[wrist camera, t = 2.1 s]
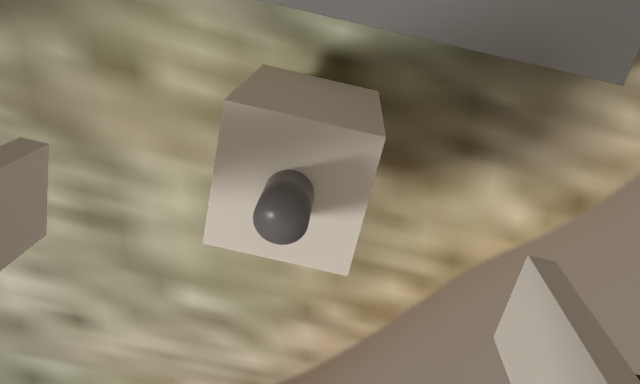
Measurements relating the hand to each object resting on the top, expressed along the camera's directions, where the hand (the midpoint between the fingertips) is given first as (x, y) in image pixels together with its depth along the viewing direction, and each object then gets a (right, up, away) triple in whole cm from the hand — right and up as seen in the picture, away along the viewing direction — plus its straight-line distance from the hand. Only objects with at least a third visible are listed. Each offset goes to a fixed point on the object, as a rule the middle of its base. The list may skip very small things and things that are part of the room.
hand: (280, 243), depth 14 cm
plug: (+1, +5, +11) cm, 12 cm away
